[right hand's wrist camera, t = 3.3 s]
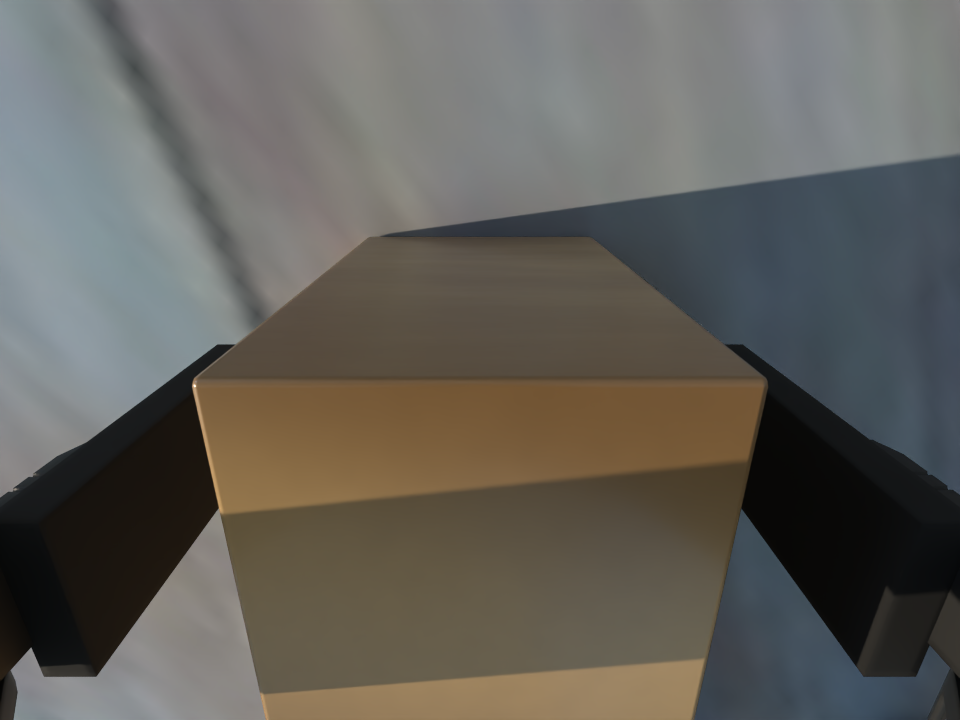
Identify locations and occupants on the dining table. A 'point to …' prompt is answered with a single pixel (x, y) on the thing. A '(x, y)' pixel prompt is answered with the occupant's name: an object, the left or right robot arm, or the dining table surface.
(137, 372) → the dining table surface
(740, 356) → the right robot arm
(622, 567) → the bar
